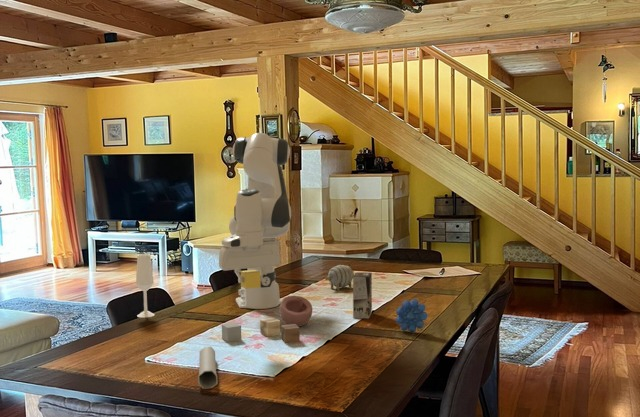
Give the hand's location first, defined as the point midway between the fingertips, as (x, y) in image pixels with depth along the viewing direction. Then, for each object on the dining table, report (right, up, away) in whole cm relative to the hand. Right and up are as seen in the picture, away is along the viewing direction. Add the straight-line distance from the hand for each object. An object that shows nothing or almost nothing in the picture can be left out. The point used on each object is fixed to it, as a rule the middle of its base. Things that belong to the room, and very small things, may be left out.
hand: (250, 281), depth 207 cm
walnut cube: (+13, -21, +6) cm, 25 cm away
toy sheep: (+32, -14, +88) cm, 94 cm away
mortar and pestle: (+14, -19, +24) cm, 34 cm away
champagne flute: (-46, -18, +42) cm, 65 cm away
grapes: (+55, -20, +15) cm, 60 cm away
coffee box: (+39, -18, +38) cm, 58 cm away
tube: (-10, -24, -25) cm, 36 cm away
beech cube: (+5, -20, +14) cm, 25 cm away
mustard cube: (0, -2, 0) cm, 2 cm away
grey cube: (-7, -21, +8) cm, 23 cm away
